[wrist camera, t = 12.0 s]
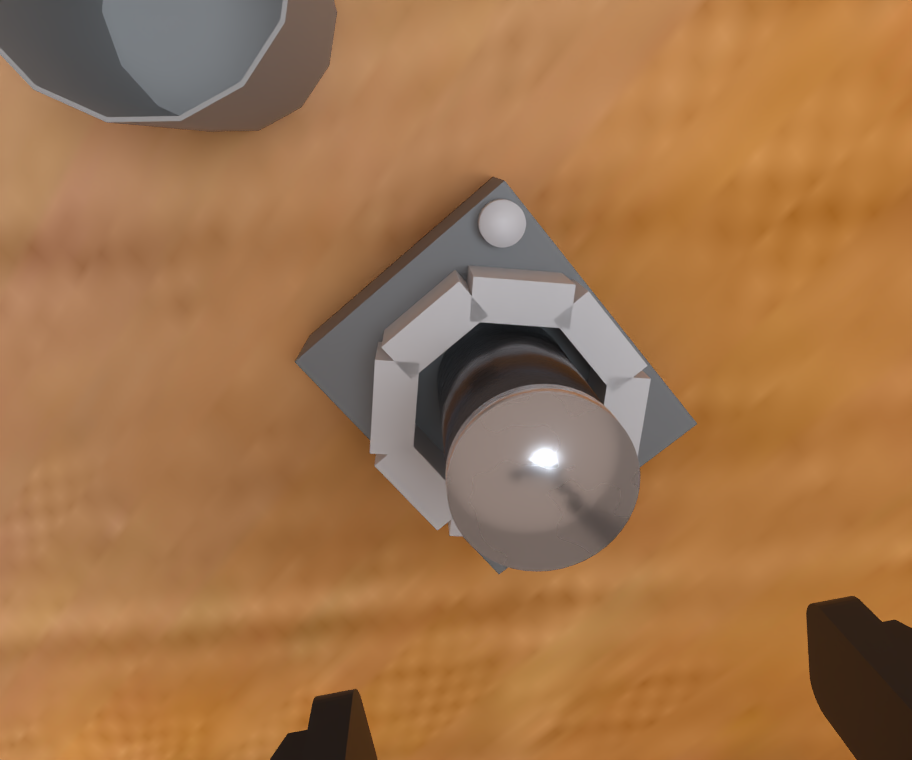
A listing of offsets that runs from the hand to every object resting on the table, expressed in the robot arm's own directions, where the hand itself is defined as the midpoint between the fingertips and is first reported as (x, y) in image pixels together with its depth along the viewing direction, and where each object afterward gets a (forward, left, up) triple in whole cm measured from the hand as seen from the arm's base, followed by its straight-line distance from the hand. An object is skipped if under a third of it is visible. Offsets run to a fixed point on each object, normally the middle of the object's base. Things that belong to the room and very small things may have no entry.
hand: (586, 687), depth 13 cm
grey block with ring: (0, 0, -20) cm, 20 cm away
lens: (0, -1, -16) cm, 16 cm away
